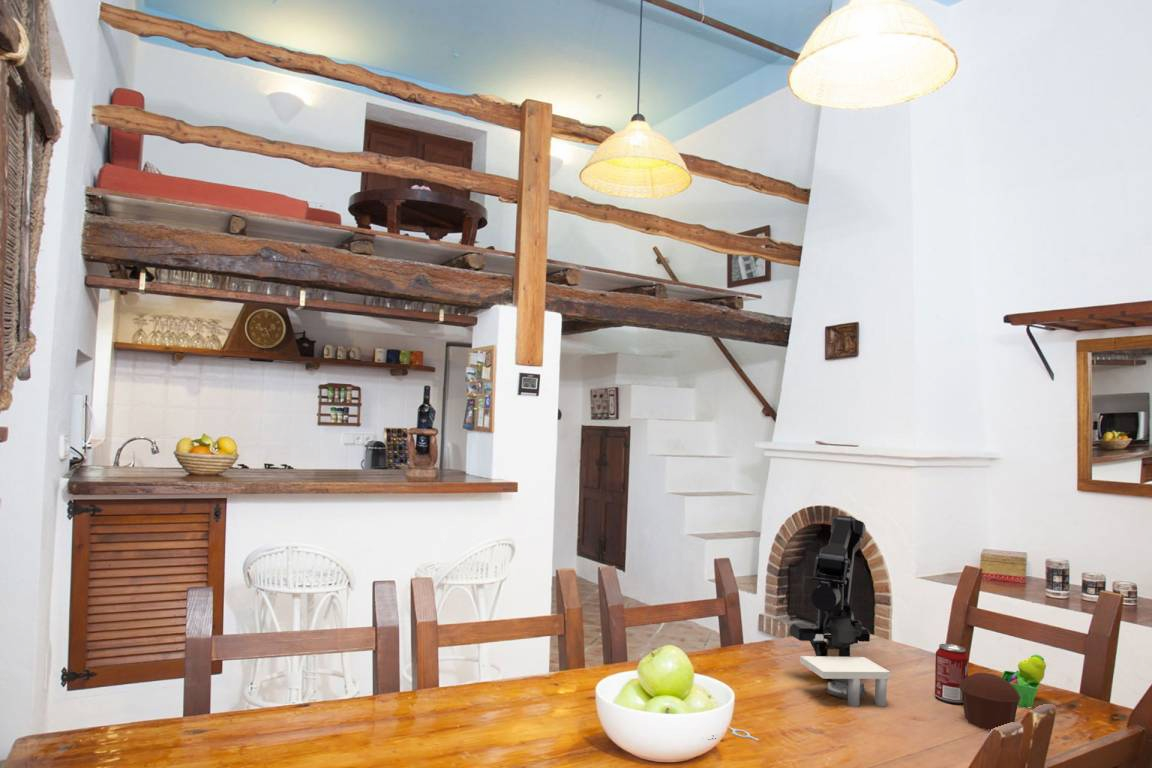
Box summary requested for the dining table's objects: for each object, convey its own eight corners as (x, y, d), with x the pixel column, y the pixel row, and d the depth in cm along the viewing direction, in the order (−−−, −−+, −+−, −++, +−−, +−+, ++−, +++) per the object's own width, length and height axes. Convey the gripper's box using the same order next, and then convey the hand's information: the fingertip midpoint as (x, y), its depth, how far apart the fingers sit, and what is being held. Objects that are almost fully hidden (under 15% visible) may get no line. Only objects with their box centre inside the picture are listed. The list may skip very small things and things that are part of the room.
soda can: (963, 707, 172) (965, 653, 172) (931, 699, 176) (933, 646, 176) (969, 700, 177) (971, 647, 178) (937, 692, 181) (939, 641, 182)
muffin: (1028, 727, 162) (1029, 679, 162) (1008, 739, 155) (1010, 688, 155) (969, 709, 171) (971, 664, 171) (948, 719, 163) (950, 672, 164)
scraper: (818, 672, 189) (819, 644, 189) (829, 673, 190) (830, 644, 190) (855, 697, 172) (856, 665, 173) (867, 697, 173) (868, 666, 173)
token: (831, 696, 173) (833, 687, 173) (823, 688, 178) (825, 680, 178) (853, 699, 173) (854, 690, 173) (844, 692, 178) (846, 683, 178)
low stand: (799, 688, 178) (800, 656, 178) (862, 689, 180) (863, 656, 181) (822, 706, 167) (823, 671, 167) (889, 706, 169) (890, 672, 170)
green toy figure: (1003, 690, 186) (1004, 643, 186) (1046, 700, 181) (1047, 651, 181) (998, 703, 176) (1000, 653, 177) (1043, 713, 171) (1044, 662, 172)
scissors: (708, 741, 143) (669, 702, 163) (708, 746, 143) (668, 706, 163) (759, 739, 146) (714, 701, 165) (759, 744, 146) (714, 704, 165)
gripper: (811, 611, 179) (808, 678, 178) (884, 612, 182) (881, 679, 181) (789, 600, 190) (787, 663, 189) (858, 601, 193) (856, 664, 192)
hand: (828, 668), depth 187 cm, fingers closed on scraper, 3 cm apart
